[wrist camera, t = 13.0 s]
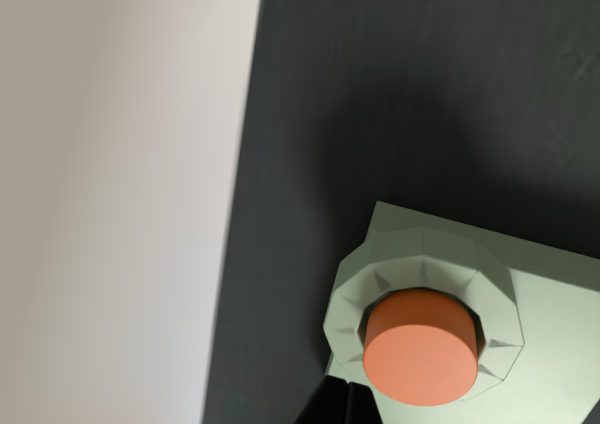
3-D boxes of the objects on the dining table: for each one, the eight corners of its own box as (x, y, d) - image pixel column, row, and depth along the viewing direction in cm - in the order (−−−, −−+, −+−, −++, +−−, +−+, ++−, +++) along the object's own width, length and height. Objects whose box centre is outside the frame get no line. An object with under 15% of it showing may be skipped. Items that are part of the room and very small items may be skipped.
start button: (357, 351, 20) (350, 388, 19) (382, 276, 18) (378, 310, 17) (454, 379, 20) (456, 419, 18) (490, 305, 18) (495, 343, 16)
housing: (308, 372, 26) (290, 443, 23) (362, 178, 21) (348, 234, 17) (533, 438, 25) (548, 522, 22) (653, 254, 20) (699, 329, 16)
